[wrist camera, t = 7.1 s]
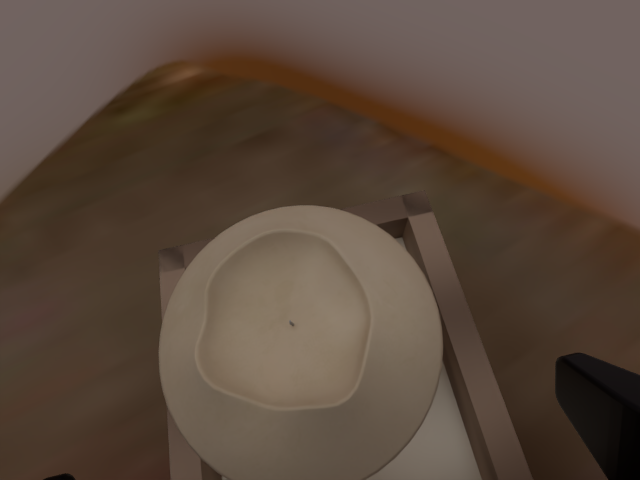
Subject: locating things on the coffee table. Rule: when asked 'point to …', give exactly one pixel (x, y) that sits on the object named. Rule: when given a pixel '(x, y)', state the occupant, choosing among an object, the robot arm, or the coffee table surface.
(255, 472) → the candle
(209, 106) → the coffee table surface
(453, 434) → the dock bay
